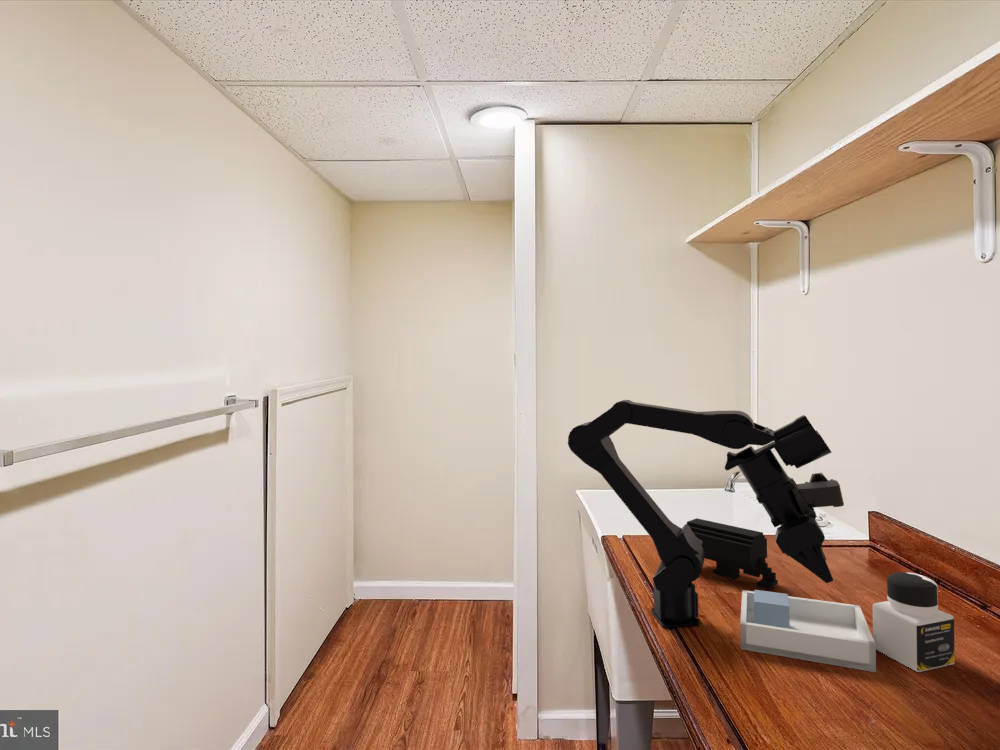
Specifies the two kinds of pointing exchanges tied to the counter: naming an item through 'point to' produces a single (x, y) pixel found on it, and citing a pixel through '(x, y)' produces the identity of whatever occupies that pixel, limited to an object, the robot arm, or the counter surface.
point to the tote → (812, 633)
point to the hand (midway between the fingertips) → (826, 570)
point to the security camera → (734, 550)
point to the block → (771, 609)
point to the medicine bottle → (913, 624)
